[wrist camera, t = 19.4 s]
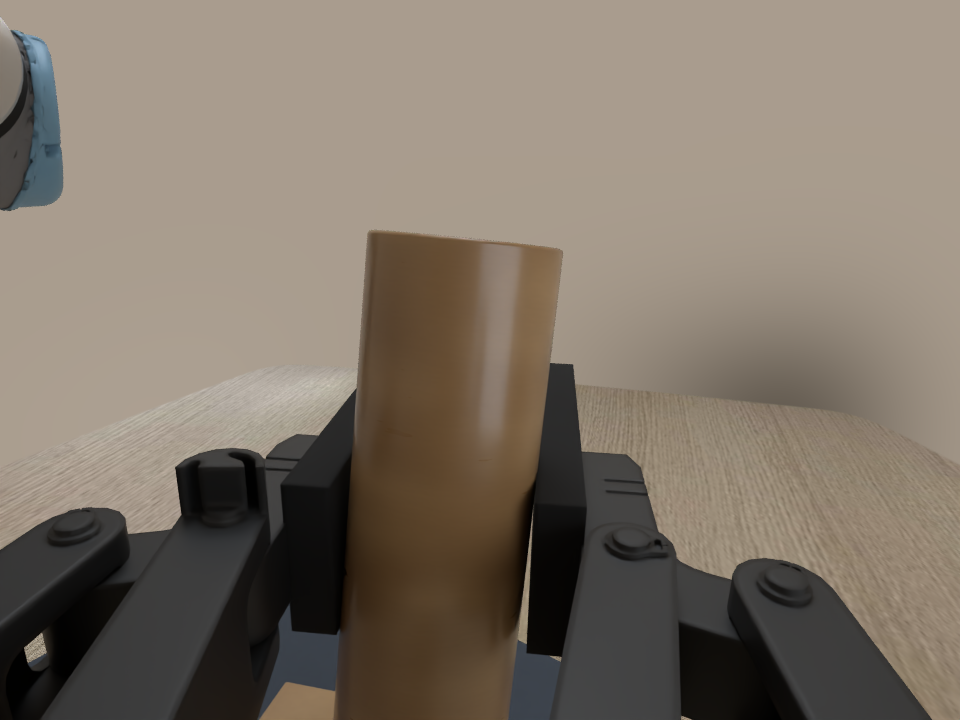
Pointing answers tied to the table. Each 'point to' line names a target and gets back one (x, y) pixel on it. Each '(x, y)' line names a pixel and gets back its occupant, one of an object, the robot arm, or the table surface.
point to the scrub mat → (316, 667)
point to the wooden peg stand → (439, 479)
